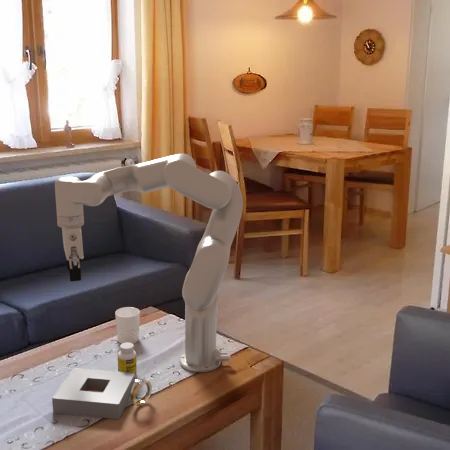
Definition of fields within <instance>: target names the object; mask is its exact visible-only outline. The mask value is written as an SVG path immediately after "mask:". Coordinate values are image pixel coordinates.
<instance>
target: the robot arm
mask: <svg viewBox="0 0 450 450" xmlns="http://www.w3.org/2000/svg"><path fill="white" fill-rule="evenodd" d="M167 188H170V189H172V190H173V191H175V192H177V193H178V194H181V195H182V196H184V197H186V198H188V199H190V200H192V201H194V202H196V203H198V204H199V205H201V206H203V207H205V208H208V209H211V210H212V211H211V213H210V216H209V219H208V223H207V225H206V227H205V230H204V233H203V235H202V238H201V240H200V241H199V243H198V245H197V246H196V247H197V248H196V251H195V254H194V258H193V260H192V263H191V264H190V265H191V266H190V267H189V270H188V271H187V273H186V275H185V278H184V281H183V284H182V285H183V286H182V290H181V292H182V294H181V296H182V298H183V301H184V304H185V306H184V307H185V309H184V311H185V312H184V313H185V314H184V321H185V322H184V329H185V330H184V353H183V354H182V355H181V356H180V358H179V363H180V366H181V367H182V368H183V369H185V370H187V371H190V372H194V373H207V372H211V371H214V370H216V369H217V368H219V367H220V365H221V363H222V362H229V363H230V362H231V355H230V354H228V351H220V350H219V346H218V345H217V326H218V325H217V322H218V321H217V317H218V292H219V288H220V286H221V284H222V282H223V279H224V277H225V274H226V271H227V270H228V269H227V268H228V266H229V262H230V256H231V255H230V254H231V246H232V244H233V241H234V239H235V236H236V234H237V229H238V228H239V224H240V222H241V218H242V214H243V208H244V207H243V205H244V203H243V201H244V200H243V195H242V191H241V188H240V186H239V183H237V181H236V179H234V178H233V176H232V175H231V174H229V173H228V172H226V171H223V170H214V171H213V172H210V173H207V172H205V171H203V170H202V169H199V168H198V167H197V165H196V161H195V160H194V158H193V157H192V156H191V155H189V154H188V153H187V154H186V153H176V154H172V155H168V156H164V157H160V158H155V159H153V160H149V161H146V162H141V163H137V164H131V165H127V166H120V167H115V168H113V169H109V170H105V171H100V172H97V173H95V174H92V176H90V177H89V178H88V179H86V180H81V179H80V178H79V177H76V176H62V177H59V178H57V179H56V180H55V182H54V192H55V194H54V195H55V204H56V205H55V208H56V219H57V220H56V221H57V222H56V223H57V226H58V227H59V228H61V231H62V232H61V233H62V234H61V235H62V244H63V250H64V253H65V258H66V269H67V270H68V271H69V273H68V274H69V281H70V282H79V281H82V271H81V270H82V269H81V265H80V259H81V260H83V259H84V258H85V256H84V248H83V245H84V244H83V235H82V226H84V224H85V220H84V219H85V217H84V206H88V207H97V206H99V205H101V204H102V203H103V202H105V200H106V199H107V198H108V197H110V196H113V195H117V194H121V193H126V192H131V191H132V192H139V193H141V194H149V193H151V192H156V191H159V190H162V189H167Z"/></svg>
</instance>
